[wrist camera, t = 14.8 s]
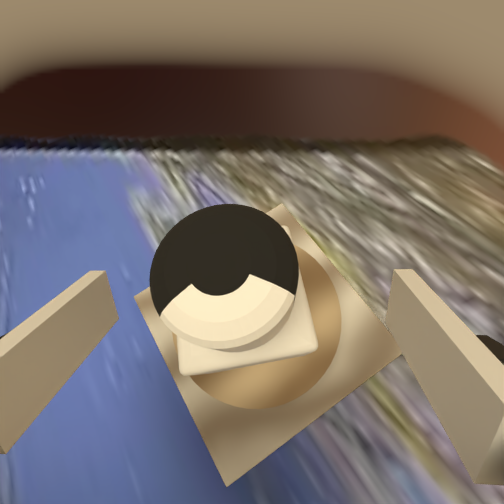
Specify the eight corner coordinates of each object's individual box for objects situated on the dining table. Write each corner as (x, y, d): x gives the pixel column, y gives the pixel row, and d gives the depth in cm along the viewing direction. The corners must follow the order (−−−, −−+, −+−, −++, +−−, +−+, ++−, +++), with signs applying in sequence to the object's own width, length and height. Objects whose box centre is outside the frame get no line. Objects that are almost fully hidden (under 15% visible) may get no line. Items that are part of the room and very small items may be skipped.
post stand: (139, 299, 29) (106, 284, 24) (281, 209, 32) (282, 176, 26) (229, 481, 23) (212, 518, 17) (399, 351, 25) (433, 348, 20)
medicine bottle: (200, 279, 23) (126, 202, 12) (286, 262, 23) (291, 167, 12) (210, 373, 21) (127, 383, 9) (308, 355, 20) (340, 343, 9)
